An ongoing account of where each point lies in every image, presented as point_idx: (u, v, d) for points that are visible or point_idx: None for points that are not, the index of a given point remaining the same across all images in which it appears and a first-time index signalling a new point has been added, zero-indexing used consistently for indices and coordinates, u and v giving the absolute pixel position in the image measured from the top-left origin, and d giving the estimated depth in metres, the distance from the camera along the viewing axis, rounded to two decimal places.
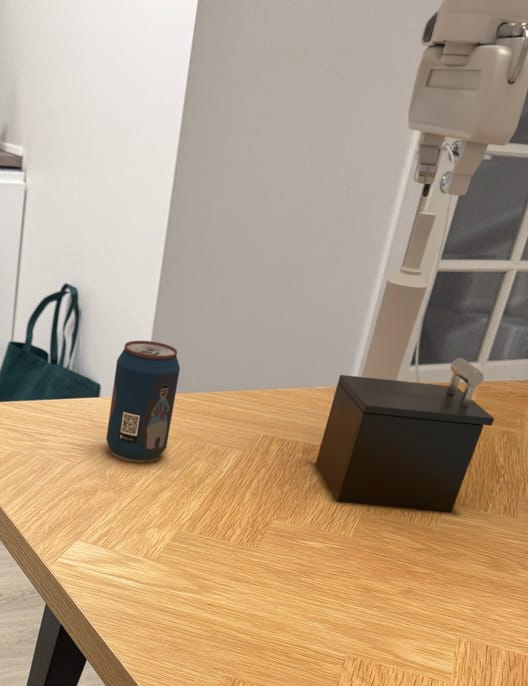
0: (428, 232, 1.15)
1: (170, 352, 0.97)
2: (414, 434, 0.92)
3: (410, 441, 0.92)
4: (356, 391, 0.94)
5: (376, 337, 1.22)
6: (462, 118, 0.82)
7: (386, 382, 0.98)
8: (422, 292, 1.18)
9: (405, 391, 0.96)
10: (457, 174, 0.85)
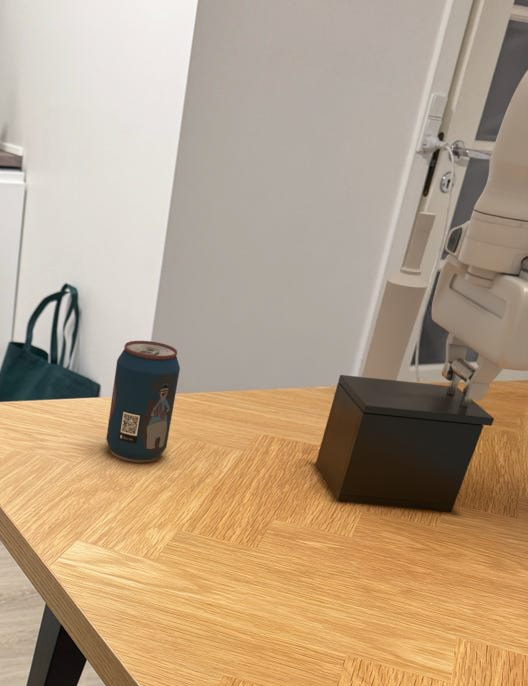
0: (428, 232, 1.15)
1: (170, 352, 0.97)
2: (414, 434, 0.92)
3: (410, 441, 0.92)
4: (356, 391, 0.94)
5: (376, 337, 1.22)
6: (487, 340, 0.86)
7: (386, 382, 0.98)
8: (422, 292, 1.18)
9: (405, 391, 0.96)
10: (476, 382, 0.90)
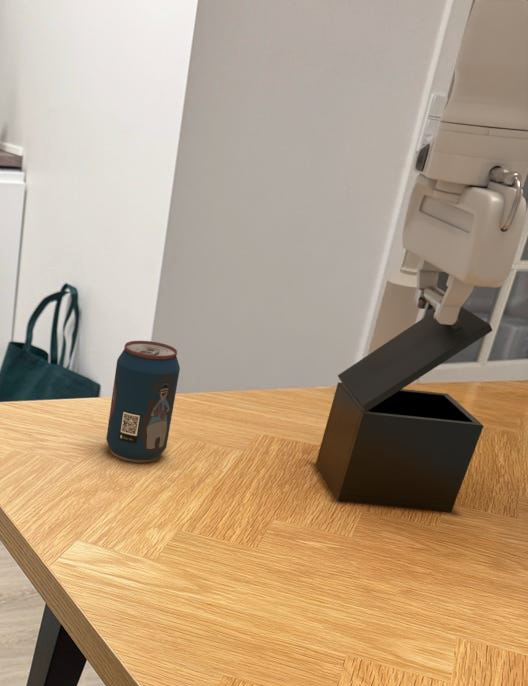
0: None
1: (170, 352, 0.97)
2: (414, 434, 0.92)
3: (410, 441, 0.92)
4: (353, 390, 0.94)
5: (376, 337, 1.22)
6: (456, 257, 0.82)
7: (381, 351, 0.97)
8: None
9: (399, 351, 0.94)
10: (446, 305, 0.86)
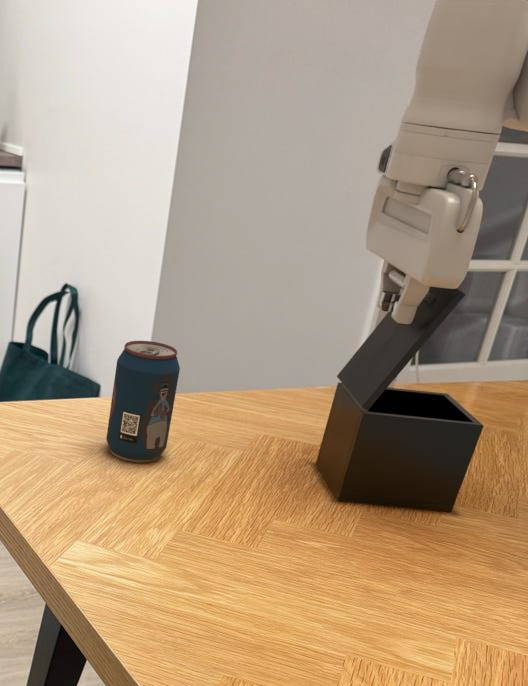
0: None
1: (170, 352, 0.97)
2: (414, 434, 0.92)
3: (410, 441, 0.92)
4: (351, 391, 0.94)
5: None
6: (414, 258, 0.82)
7: (370, 341, 0.96)
8: None
9: (385, 337, 0.93)
10: (403, 304, 0.87)
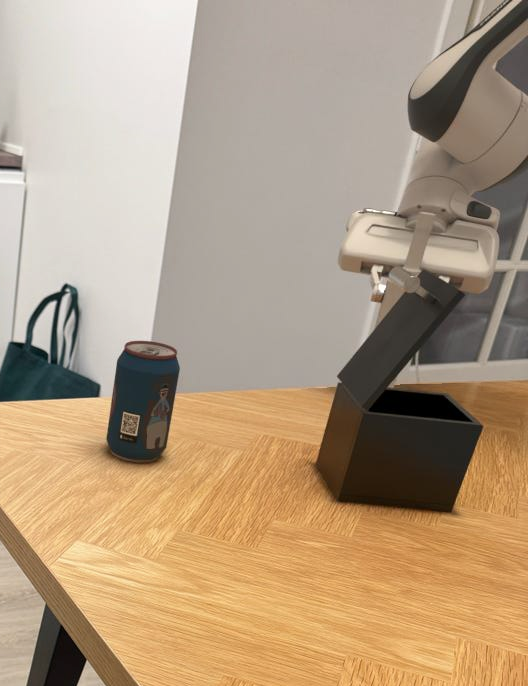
0: (428, 232, 1.15)
1: (170, 352, 0.97)
2: (414, 434, 0.92)
3: (410, 441, 0.92)
4: (351, 391, 0.94)
5: None
6: None
7: (370, 341, 0.96)
8: None
9: (385, 337, 0.93)
10: (373, 290, 1.22)
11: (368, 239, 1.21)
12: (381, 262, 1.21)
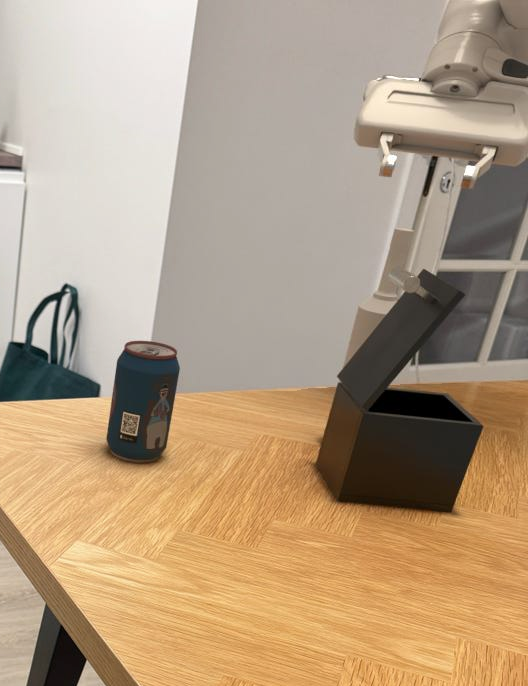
0: (405, 251, 0.99)
1: (170, 352, 0.97)
2: (414, 434, 0.92)
3: (410, 441, 0.92)
4: (351, 391, 0.94)
5: None
6: None
7: (370, 341, 0.96)
8: None
9: (385, 337, 0.93)
10: (382, 163, 1.08)
11: (389, 106, 1.07)
12: (403, 132, 1.06)
